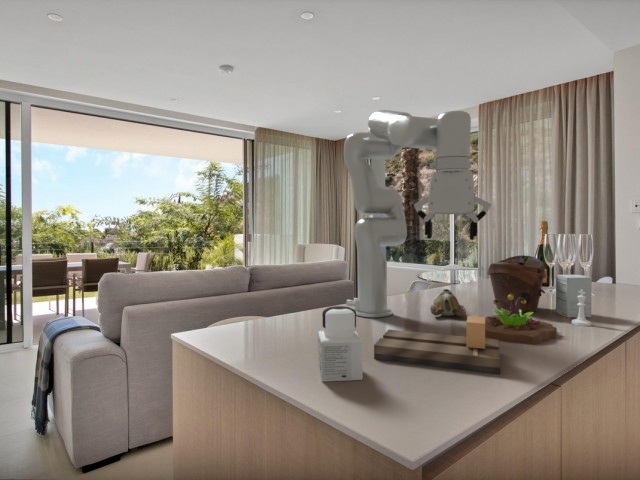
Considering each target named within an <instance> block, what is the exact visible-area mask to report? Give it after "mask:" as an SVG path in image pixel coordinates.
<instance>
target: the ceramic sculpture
mask: <svg viewBox="0 0 640 480" xmlns="http://www.w3.org/2000/svg"><path fill="white" fill-rule="evenodd" d="M430 313H431V314H432V315H433V316H436V317H437V316H439V315H440V316H443V317H452V316H455V315H457V316H459V317H463V316H465V315H467V310H466V307H465V306H464V305H462V304H460V303H459V300H458V299H457V297H456V296H455V295H454V293H453V292H452V291H451V290H449V289H448V288H446V289H445V288H444V289H443V290H441V291H440V292H438V293H437V295H436V296H435V297H434V299H433V304H432V305H431V306H430Z"/></svg>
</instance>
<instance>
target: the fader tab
mask: <svg viewBox="0 0 640 480" xmlns="http://www.w3.org/2000/svg"><path fill="white" fill-rule="evenodd" d="M485 318H486V317H485V316H483V317H482V316H473V315H467V317H466V323H465V324H466V326H465V327H466V329H465V330H466V332H465V334H466V336H465V337H466V347H472V348H482V349H485V338H486V337H485Z"/></svg>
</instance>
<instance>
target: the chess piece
mask: <svg viewBox="0 0 640 480" xmlns="http://www.w3.org/2000/svg"><path fill="white" fill-rule="evenodd" d="M578 293H580V295H579V296H577V297H578V299H579V302H580V303H578V304H577V305H579V306H580V307H579V314H578V317H576V318H575V319H572V320H571V324H572V325H575V326H581V327H591V326H592V322H591V321H590V320H588V319H587V317H585V315H584V307H583V306H586V304H584V301H585V298H586V297H585V296H583V294H585V292H583V290H582V289H581V291H578Z"/></svg>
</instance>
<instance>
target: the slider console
mask: <svg viewBox="0 0 640 480" xmlns="http://www.w3.org/2000/svg"><path fill="white" fill-rule="evenodd" d="M500 352H501V351H500V344H499V340H497V339H491V338H487V337H485V349H482V348H472V347H466V336H462V335H455V334H453V335H451V334H443V333H434V332H433V333H432V332H430V333H429V332H421V331H420V332H419V331H409V330H399V329H387V331H385V333H384V334H383V335H382V338H381V337H380V338H379V339H378V340H377V341H376V342H375V343H374V345H373V358H374V359H375V360H384V361H390V362H399V363H406V364H413V365H414V364H415V365H423V366H430V367H437V368H438V367H439V368H445V369H446V368H448V369H455V370H461V371H462V370H463V371H470V372H477V373H478V372H479V373H486V374H495V375H501V354H500Z"/></svg>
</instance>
